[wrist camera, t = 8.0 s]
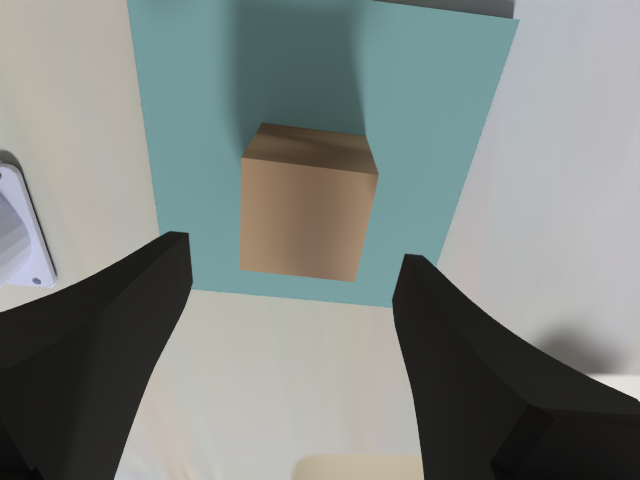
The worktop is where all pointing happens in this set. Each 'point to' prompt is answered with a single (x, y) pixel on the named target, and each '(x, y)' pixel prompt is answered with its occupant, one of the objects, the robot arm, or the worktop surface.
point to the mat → (313, 119)
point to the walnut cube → (305, 202)
